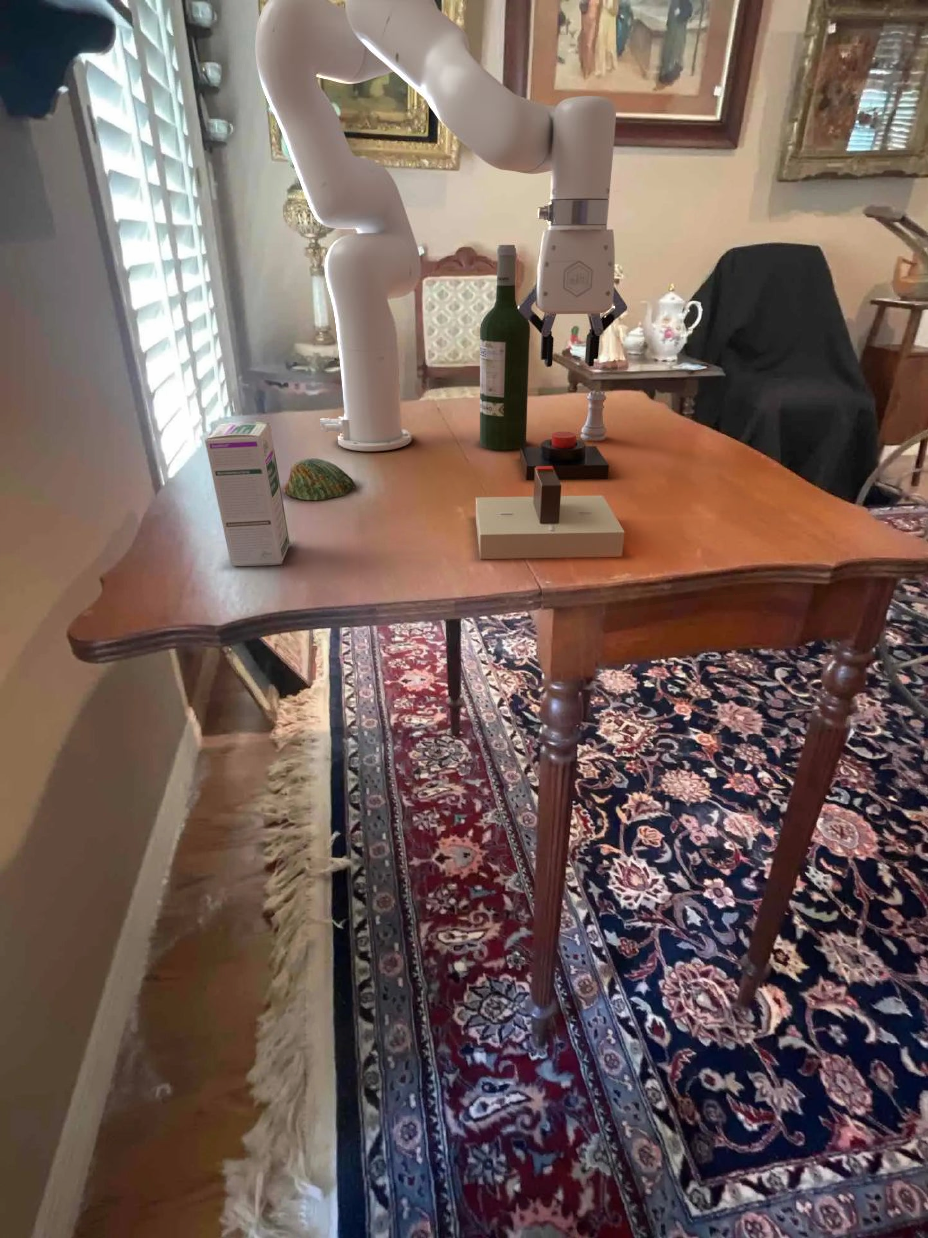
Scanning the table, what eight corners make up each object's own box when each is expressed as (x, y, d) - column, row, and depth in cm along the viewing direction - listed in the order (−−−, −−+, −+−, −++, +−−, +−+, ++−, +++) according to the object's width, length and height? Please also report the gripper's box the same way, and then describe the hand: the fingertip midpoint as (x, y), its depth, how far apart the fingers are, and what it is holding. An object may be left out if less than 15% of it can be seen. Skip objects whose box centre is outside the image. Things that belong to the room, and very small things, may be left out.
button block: (526, 480, 101) (527, 453, 99) (519, 460, 110) (520, 435, 108) (607, 479, 101) (610, 452, 99) (594, 459, 110) (596, 434, 108)
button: (553, 449, 102) (553, 438, 101) (549, 443, 105) (550, 431, 104) (577, 449, 102) (578, 437, 101) (573, 442, 105) (574, 431, 104)
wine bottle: (470, 444, 118) (469, 245, 103) (503, 436, 122) (507, 243, 107) (502, 454, 113) (506, 245, 98) (535, 445, 117) (544, 244, 102)
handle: (559, 523, 78) (561, 483, 76) (539, 523, 78) (541, 483, 76) (551, 503, 84) (553, 465, 82) (533, 503, 84) (534, 465, 82)
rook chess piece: (607, 442, 118) (612, 394, 114) (581, 442, 118) (585, 394, 114) (603, 435, 122) (608, 389, 118) (578, 435, 122) (582, 389, 118)
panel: (480, 559, 77) (480, 533, 76) (475, 519, 88) (475, 495, 86) (621, 556, 78) (624, 530, 76) (600, 517, 88) (603, 493, 87)
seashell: (306, 474, 91) (266, 459, 97) (308, 504, 92) (269, 488, 99) (367, 464, 97) (326, 450, 103) (368, 492, 99) (327, 477, 105)
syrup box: (283, 565, 76) (263, 434, 69) (228, 567, 76) (203, 435, 69) (290, 544, 81) (272, 420, 74) (239, 546, 81) (216, 421, 74)
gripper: (514, 217, 85) (510, 370, 94) (651, 216, 86) (634, 369, 95) (509, 217, 92) (506, 361, 101) (637, 216, 92) (622, 359, 101)
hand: (568, 363), depth 98 cm, fingers open, 5 cm apart
